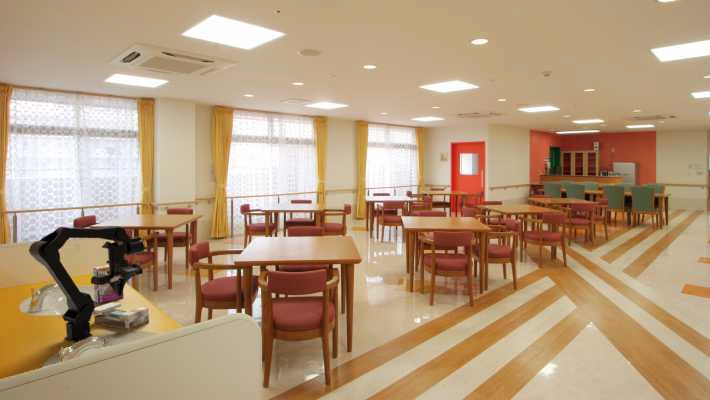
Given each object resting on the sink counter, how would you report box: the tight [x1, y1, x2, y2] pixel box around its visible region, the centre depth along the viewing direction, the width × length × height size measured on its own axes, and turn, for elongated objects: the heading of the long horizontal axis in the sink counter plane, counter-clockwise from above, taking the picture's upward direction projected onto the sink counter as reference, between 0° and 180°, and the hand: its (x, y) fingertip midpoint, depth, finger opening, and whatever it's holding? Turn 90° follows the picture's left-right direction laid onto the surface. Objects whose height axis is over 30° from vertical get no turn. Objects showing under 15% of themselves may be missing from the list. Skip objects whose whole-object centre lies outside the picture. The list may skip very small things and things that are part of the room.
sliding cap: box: [92, 301, 122, 316], centre depth 171 cm, size 9×6×4 cm, turn 156°
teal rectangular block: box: [110, 310, 125, 318], centre depth 168 cm, size 8×3×3 cm, turn 65°
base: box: [93, 306, 150, 331], centre depth 168 cm, size 9×20×6 cm, turn 66°
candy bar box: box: [92, 264, 124, 305], centre depth 197 cm, size 11×5×16 cm, turn 141°
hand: (119, 296), depth 167 cm, fingers closed
